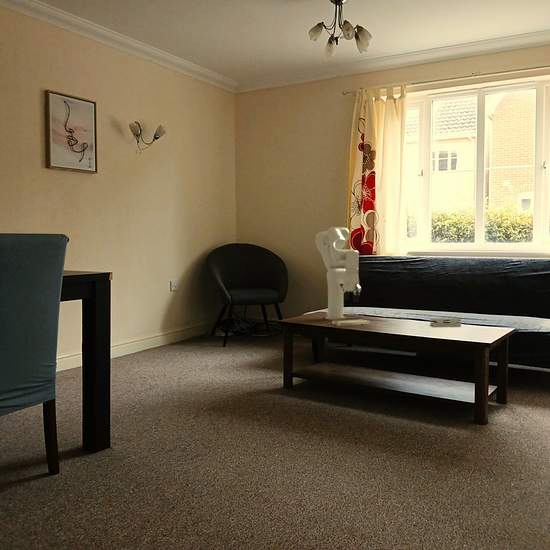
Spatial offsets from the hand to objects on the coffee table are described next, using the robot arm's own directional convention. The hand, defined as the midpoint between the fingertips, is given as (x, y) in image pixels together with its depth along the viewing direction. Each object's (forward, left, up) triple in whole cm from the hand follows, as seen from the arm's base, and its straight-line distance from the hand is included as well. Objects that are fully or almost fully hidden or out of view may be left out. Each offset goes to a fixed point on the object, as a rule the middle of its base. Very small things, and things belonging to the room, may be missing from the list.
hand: (351, 300), depth 326 cm
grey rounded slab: (+34, +43, -11) cm, 56 cm away
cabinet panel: (+1, 0, -14) cm, 14 cm away
